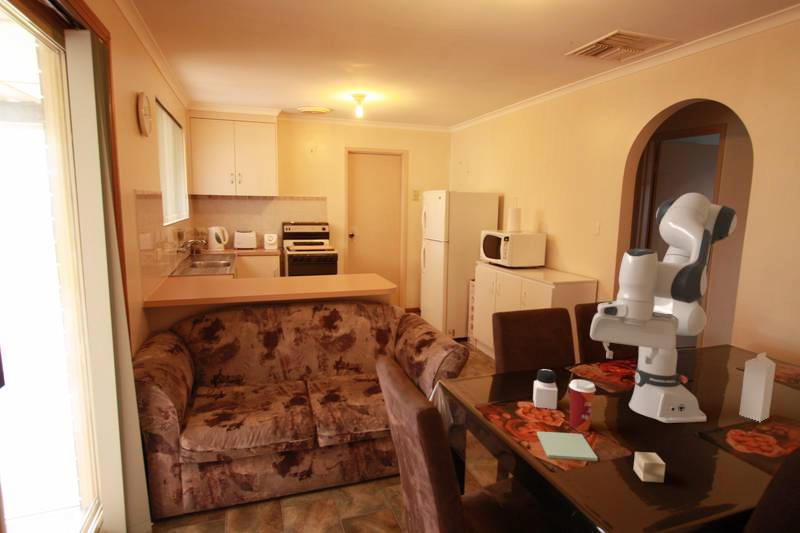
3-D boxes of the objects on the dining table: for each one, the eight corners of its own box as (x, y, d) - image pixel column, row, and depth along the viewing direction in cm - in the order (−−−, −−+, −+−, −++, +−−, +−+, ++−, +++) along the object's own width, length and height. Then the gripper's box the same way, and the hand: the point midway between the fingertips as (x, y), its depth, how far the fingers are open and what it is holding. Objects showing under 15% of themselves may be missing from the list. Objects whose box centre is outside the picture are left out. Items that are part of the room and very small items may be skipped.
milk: (768, 419, 145) (777, 354, 142) (760, 423, 142) (769, 357, 139) (747, 411, 150) (755, 349, 147) (738, 415, 147) (746, 351, 144)
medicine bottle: (556, 410, 148) (559, 375, 146) (534, 407, 149) (536, 373, 148) (553, 401, 155) (556, 368, 153) (532, 399, 156) (534, 366, 155)
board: (581, 436, 130) (581, 434, 130) (597, 460, 117) (597, 458, 117) (536, 433, 131) (536, 431, 131) (547, 457, 118) (548, 455, 118)
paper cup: (590, 435, 131) (594, 390, 130) (563, 427, 135) (566, 384, 134) (594, 424, 138) (598, 382, 136) (569, 418, 142) (572, 376, 140)
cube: (653, 471, 113) (655, 452, 113) (663, 482, 108) (665, 463, 108) (633, 469, 114) (635, 451, 113) (642, 481, 109) (644, 462, 108)
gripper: (677, 312, 115) (670, 363, 116) (592, 303, 122) (587, 351, 124) (682, 317, 109) (676, 370, 111) (593, 307, 116) (588, 357, 118)
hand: (628, 360), depth 117 cm, fingers open, 8 cm apart
